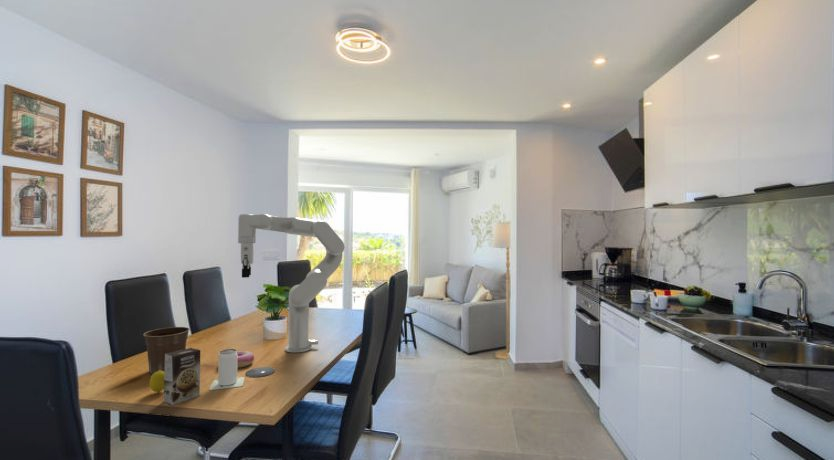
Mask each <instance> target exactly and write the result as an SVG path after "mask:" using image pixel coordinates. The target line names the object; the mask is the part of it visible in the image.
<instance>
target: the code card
mask: <svg viewBox="0 0 834 460" xmlns="http://www.w3.org/2000/svg"><path fill="white" fill-rule="evenodd" d="M245 377H246V376H240V377H239V376H237V382H236V383H235V384H232V385H228V386H221V385H219V384H218V379H214V380H213V381H212V383H211V385H210V386H209V389H208V391H215V390H224V389H233V388H241V387H243V385H244V382H245V379H246V378H245Z"/></svg>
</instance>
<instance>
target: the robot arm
mask: <svg viewBox="0 0 834 460" xmlns="http://www.w3.org/2000/svg"><path fill="white" fill-rule="evenodd" d="M237 222H238V225H237V226H238V228H237V229H238V230H237V231H238V234H237V236H238V237H237V238H238V239H237V243H238V244H240V261H241V262H240V263H241V266H242V267H241V278H243V279H245V278H250V276H251V275H252V266H251V265H253V264H254V244H256V235H257V234H256V230H263V231H269V232H270V231H271V232H279V233H284V234H289V235H294V236H305V237H312V238H316V239H317V240H318V241H319V242H320V243H321V245H323V247H324V248H325V256H324V258H323V259H321V261H320V262H319V263H318V264H317V265H316V266H314V267H313V268H312V270H310V271H309V272H308V273H307V274H306V276H305V278H304V280H302V281H301V282H300V283H299V284H295V285H293V286H292V287H291V289H290V290H288V291H289V293H288V339H287V340H288V343H287V344H288V345H287V346H285V347H284V351H285V352H287V353H294V354H295V353H297V354H298V353H304V352H309V351H310V350H312V345H314V346H316V345H319V340H315V339H310V338H309V334H310V333H309V332H310V330H309V329H310V327H309V326H310V324H309V323H310V320H309V319H310V303H311V302H312V300H314V299H315V298H316V297H317V296H318V295H319V294H320V293H321V292H322V291H323V289H325V288H326V285H327V284H328V279H329V278H330V277H331V276H332V275H333V274H334V273H335V272H336V270H338V268H339V267H340V265H341V262H342V260H343V252H344V251H345V243H344V240H342V239H341V237H340V236H339V235H338V234H337V233H336V232H335V230H334V229H333V228H332V227H331V225H330V224H329V223H328V222H326V221H325V220H316V219H308V218H301V217H297V216H295V217H292V216H291V217H284V216H283V217H282V216H274V215H269V214H267V213H257V214H254V213H253V214H252V213H251V214H250V213H241V214H239V215H238V221H237Z"/></svg>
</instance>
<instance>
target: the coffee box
mask: <svg viewBox="0 0 834 460" xmlns="http://www.w3.org/2000/svg"><path fill="white" fill-rule="evenodd" d="M200 381H201V350H200V349H198V348H194V347H189V348H186V349H184V350H179V351H175V352H170V353H166V354H165V372H164V390H163V401H164V402H165V403H168V404H169V405H172V406H173V405H177V404H179V403H180V404H181V403H183V402H186V401H189V400H192V399H194V398H198V397H200V395H201V394H200V391H201V390H200V387H201V386H200V385H201V384H200V383H201V382H200Z"/></svg>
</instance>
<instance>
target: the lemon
mask: <svg viewBox="0 0 834 460" xmlns="http://www.w3.org/2000/svg"><path fill="white" fill-rule="evenodd" d="M149 388H150V389H151V391H153V392H155V393H157V394H160V393H161V392H162V391H164V371H161V370H158V371H157V372H155V373H154V374H151V376H150V379H149Z"/></svg>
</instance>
